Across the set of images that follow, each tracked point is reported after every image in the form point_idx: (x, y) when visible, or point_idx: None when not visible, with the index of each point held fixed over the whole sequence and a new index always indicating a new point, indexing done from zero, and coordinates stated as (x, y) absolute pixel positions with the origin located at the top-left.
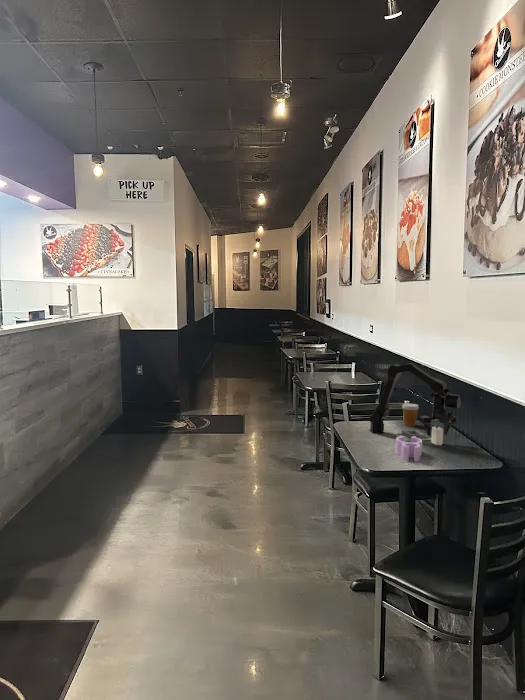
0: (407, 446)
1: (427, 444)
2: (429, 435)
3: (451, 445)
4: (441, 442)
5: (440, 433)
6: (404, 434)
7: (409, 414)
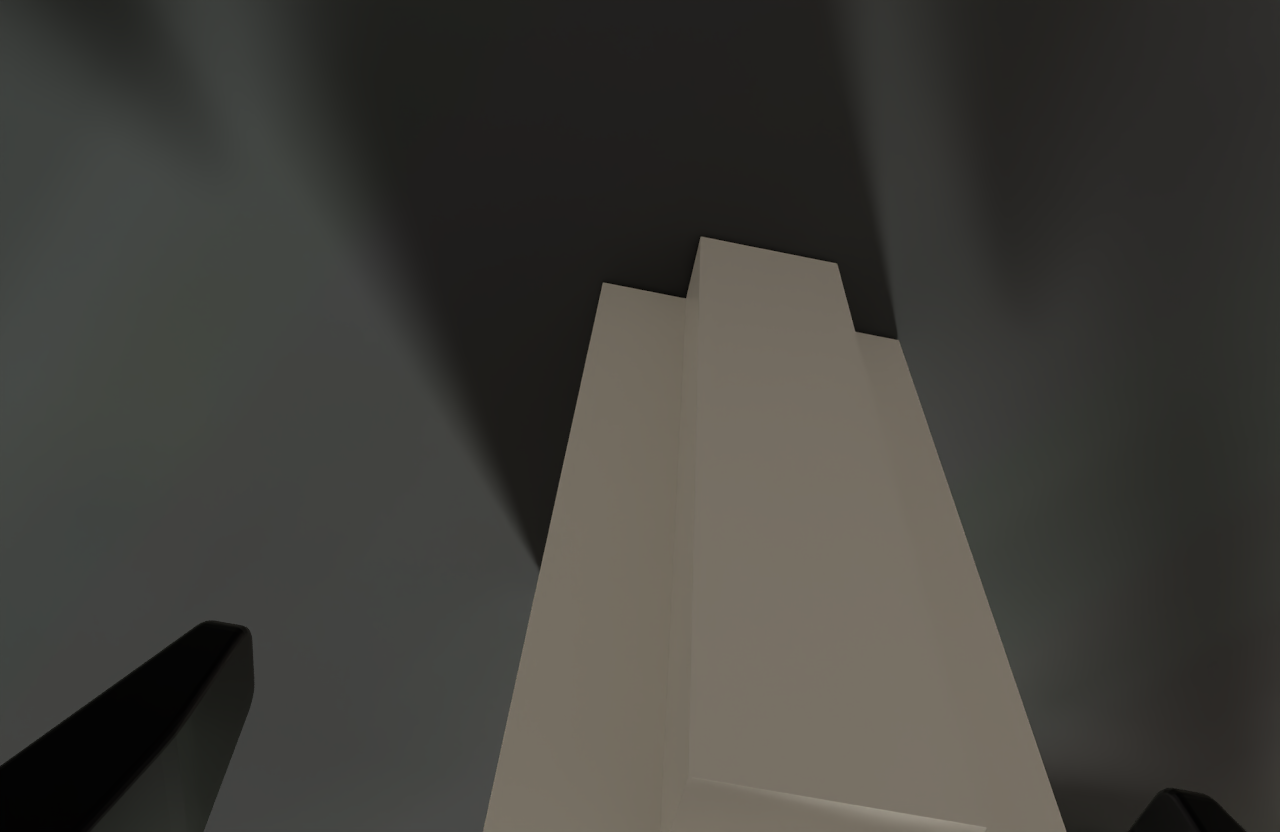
0: None
1: (1168, 490)
2: (1209, 809)
3: (284, 26)
4: (717, 288)
5: (842, 652)
6: None
7: None
